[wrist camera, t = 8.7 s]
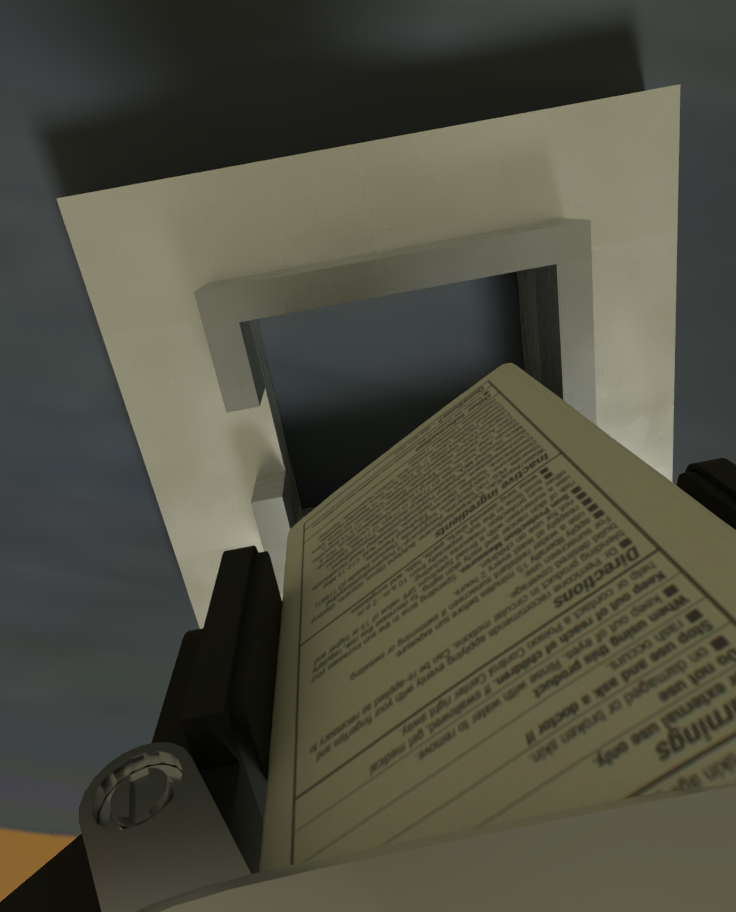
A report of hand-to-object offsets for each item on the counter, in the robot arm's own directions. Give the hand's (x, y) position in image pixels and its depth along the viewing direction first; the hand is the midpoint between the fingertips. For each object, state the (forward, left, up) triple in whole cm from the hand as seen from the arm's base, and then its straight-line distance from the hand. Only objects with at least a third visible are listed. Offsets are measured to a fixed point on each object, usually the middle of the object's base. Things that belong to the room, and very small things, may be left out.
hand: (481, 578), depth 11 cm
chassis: (0, 0, -12) cm, 12 cm away
